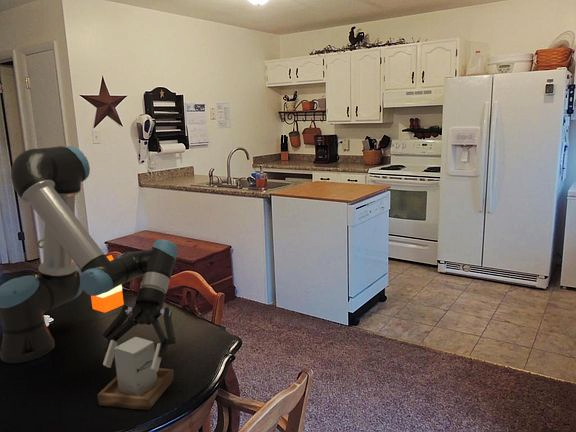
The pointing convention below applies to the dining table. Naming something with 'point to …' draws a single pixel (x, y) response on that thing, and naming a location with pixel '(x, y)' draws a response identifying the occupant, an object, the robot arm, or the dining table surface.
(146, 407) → the tray
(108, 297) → the orange juice
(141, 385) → the supplement box
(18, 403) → the dining table surface
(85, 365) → the dining table surface
